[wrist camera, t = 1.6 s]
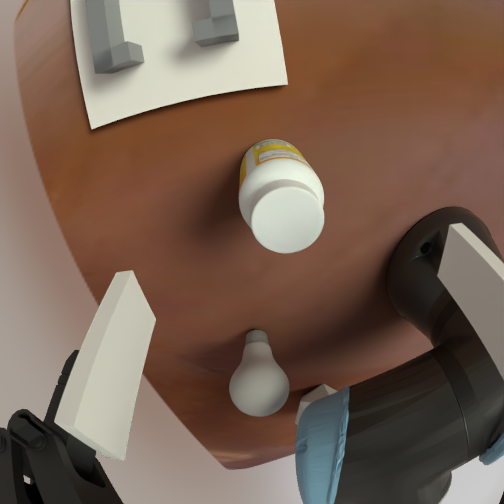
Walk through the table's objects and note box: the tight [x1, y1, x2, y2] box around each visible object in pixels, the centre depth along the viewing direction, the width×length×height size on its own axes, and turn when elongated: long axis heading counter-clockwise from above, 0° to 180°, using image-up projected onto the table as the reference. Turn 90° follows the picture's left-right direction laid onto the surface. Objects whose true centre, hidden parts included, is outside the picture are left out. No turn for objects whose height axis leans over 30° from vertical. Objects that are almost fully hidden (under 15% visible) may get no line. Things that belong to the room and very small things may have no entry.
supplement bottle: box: [239, 139, 324, 253], centre depth 19 cm, size 5×5×10 cm
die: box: [295, 383, 338, 425], centre depth 40 cm, size 8×9×10 cm
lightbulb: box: [229, 330, 289, 417], centre depth 29 cm, size 6×6×11 cm
